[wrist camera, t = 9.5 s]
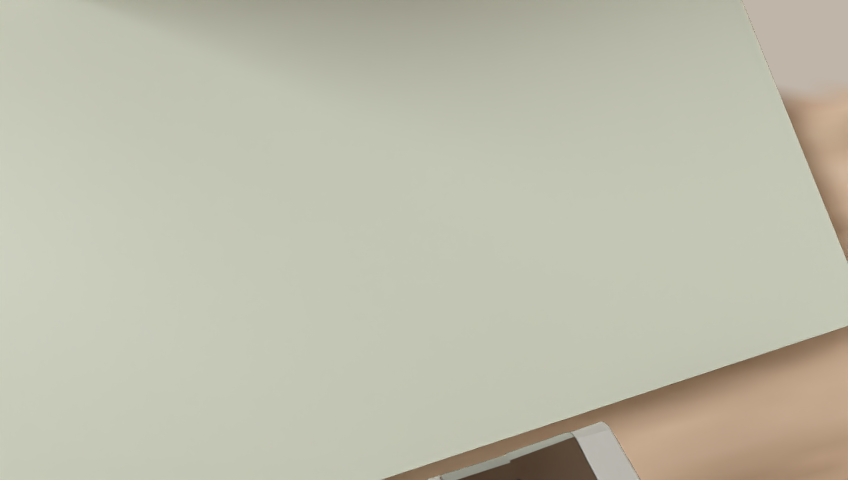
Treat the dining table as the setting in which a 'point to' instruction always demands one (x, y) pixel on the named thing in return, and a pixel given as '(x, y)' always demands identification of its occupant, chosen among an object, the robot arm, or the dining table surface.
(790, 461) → the dining table surface
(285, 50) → the board
